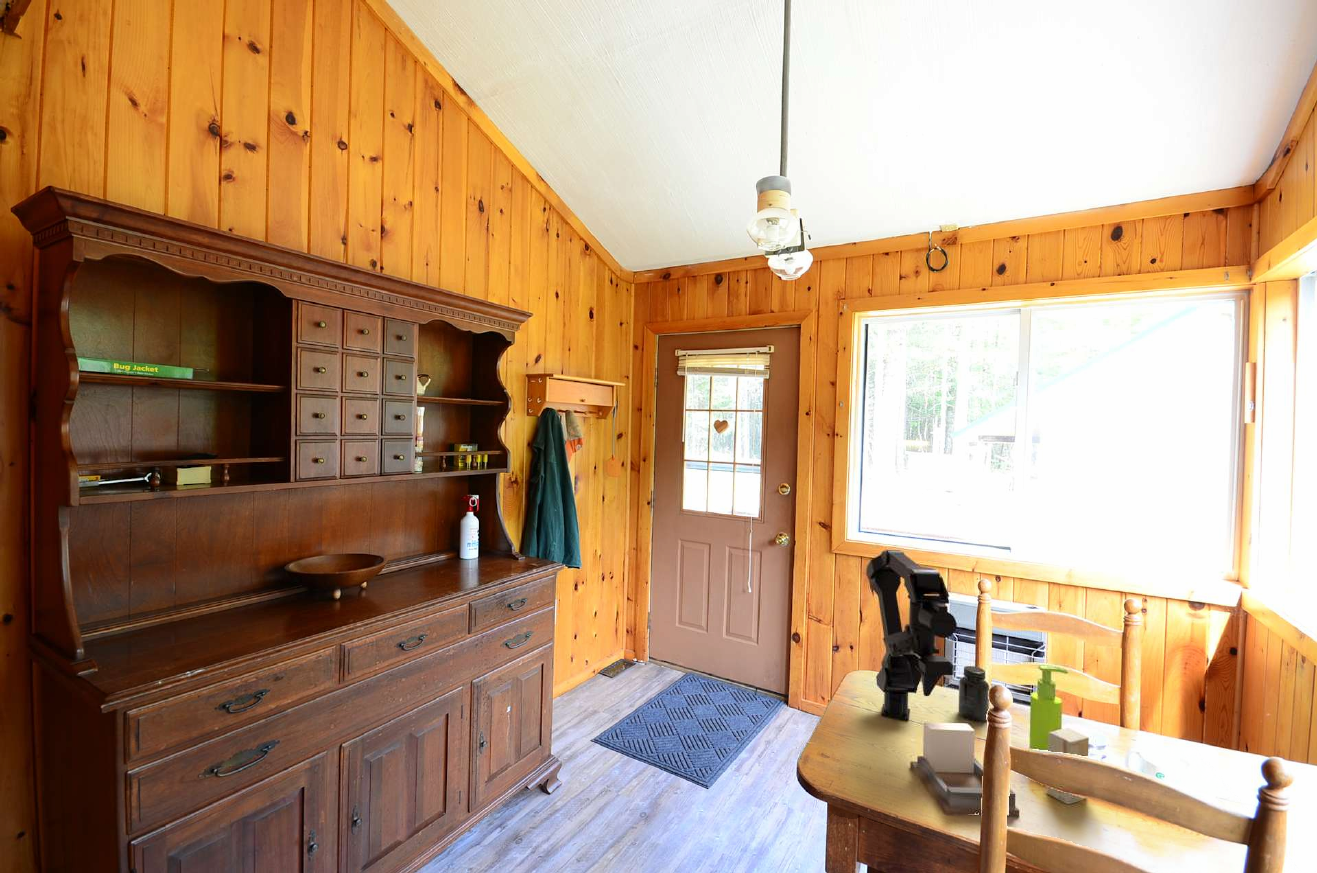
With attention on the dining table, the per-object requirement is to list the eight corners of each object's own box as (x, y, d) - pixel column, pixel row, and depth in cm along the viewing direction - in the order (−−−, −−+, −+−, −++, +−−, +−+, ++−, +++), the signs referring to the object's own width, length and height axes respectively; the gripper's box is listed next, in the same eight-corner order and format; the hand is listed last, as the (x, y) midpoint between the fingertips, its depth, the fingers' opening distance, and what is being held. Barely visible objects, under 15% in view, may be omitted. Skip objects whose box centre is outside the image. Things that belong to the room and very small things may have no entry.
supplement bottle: (973, 709, 155) (974, 663, 155) (995, 721, 149) (996, 673, 149) (952, 711, 153) (953, 665, 153) (973, 724, 147) (974, 676, 147)
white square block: (920, 761, 127) (921, 720, 127) (963, 762, 126) (964, 721, 126) (929, 771, 123) (930, 729, 123) (973, 773, 122) (974, 730, 122)
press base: (910, 767, 127) (910, 747, 127) (974, 768, 126) (974, 749, 126) (946, 814, 111) (946, 792, 111) (1019, 816, 110) (1019, 794, 110)
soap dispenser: (1071, 765, 129) (1073, 673, 129) (1035, 761, 130) (1038, 670, 130) (1058, 751, 135) (1060, 663, 135) (1025, 747, 136) (1027, 660, 136)
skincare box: (1067, 806, 114) (1069, 742, 114) (1045, 793, 118) (1046, 732, 118) (1088, 798, 117) (1090, 736, 117) (1066, 786, 121) (1067, 726, 121)
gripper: (873, 610, 147) (871, 673, 147) (904, 635, 128) (902, 708, 128) (918, 611, 147) (916, 674, 146) (955, 637, 128) (954, 709, 128)
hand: (920, 690), depth 137 cm, fingers open, 5 cm apart
